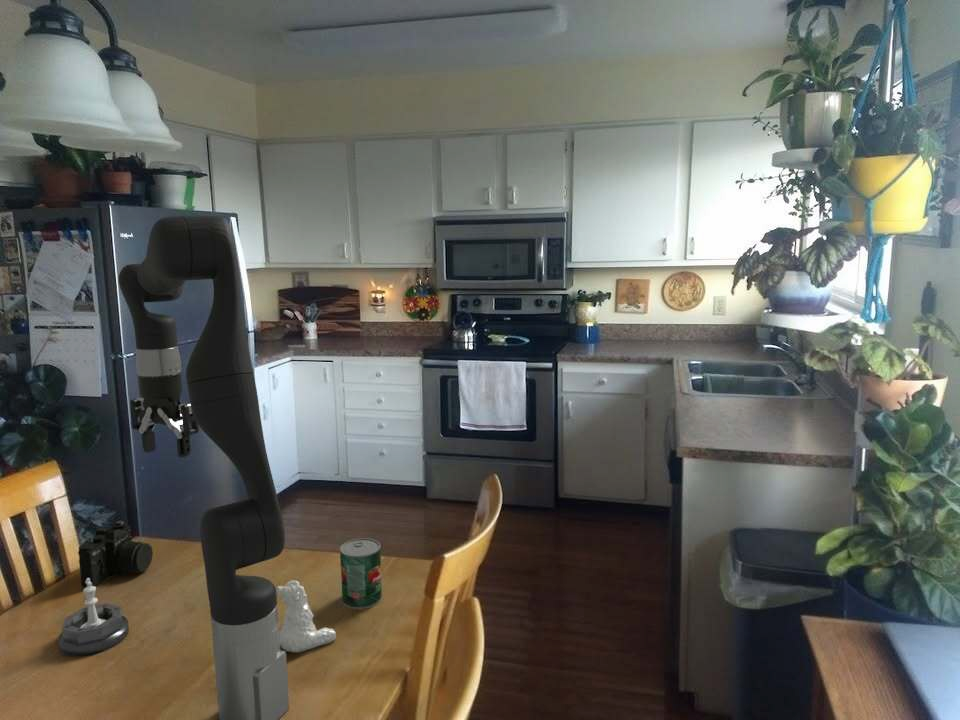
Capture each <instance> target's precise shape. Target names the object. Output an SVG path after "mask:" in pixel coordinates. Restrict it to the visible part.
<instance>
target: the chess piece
mask: <svg viewBox="0 0 960 720" xmlns="http://www.w3.org/2000/svg"><path fill="white" fill-rule="evenodd" d="M85 582H86V584H87V587H86V588H83V590H82V592H83V594H84V596H85V598H86V599H85V601H84V602H83V603H84V605H85V606H87V607H88V621H87V622H86V623H85V624H83V625H82V626H81V627H80V628H81V629H82V628H87V627H92V626H97V625H100V624H102V623H103V622H105V621H107V620H105V619H99V618H98V616H97V612H96V608H95V605H96V603H97V602H98V601H99V600H98V598H97V597H95V596H96V595H95V594H96V590H97V586H96V587H95V586H91V585H92V583H91V582H90V578H87V581H85Z"/></svg>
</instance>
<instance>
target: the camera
mask: <svg viewBox="0 0 960 720" xmlns="http://www.w3.org/2000/svg"><path fill="white" fill-rule="evenodd" d="M132 539H133V537H132V531H131V526H130V525H128V523H127V522H126V521H124V520H118V521H116V522H115V523H114V524H112V527H111V526H110V525H102V526H100V527H99V528H97V529H96V531H95V536H93V537H92V536H91V537H88V539H87V540H85V541H84V542H83V543H81V545H80V546H78V552H77V554H78V558H79V560H78V563H79V572H80V582H81V587H82V589H85V588H86V587H87V584H86V582H85V581H87V578H90V582H91V583H92V585H91V586H95V587H96V588H97V586H99V585H100V584H102V583H103V582H104V581H105V580H107V579H108V578H110V577H116V576H120V575H123V574H124V573H127V574H128V573H130V574H131V573H133V574H138V573H144V572H146V571H147V570H148V568H149V567H150V566H151V562H153V561H152V559H153V556H154V555H153V553H154V552H153V547H152V546H151V544H149V543H147V542H143V541H133V540H132Z"/></svg>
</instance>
